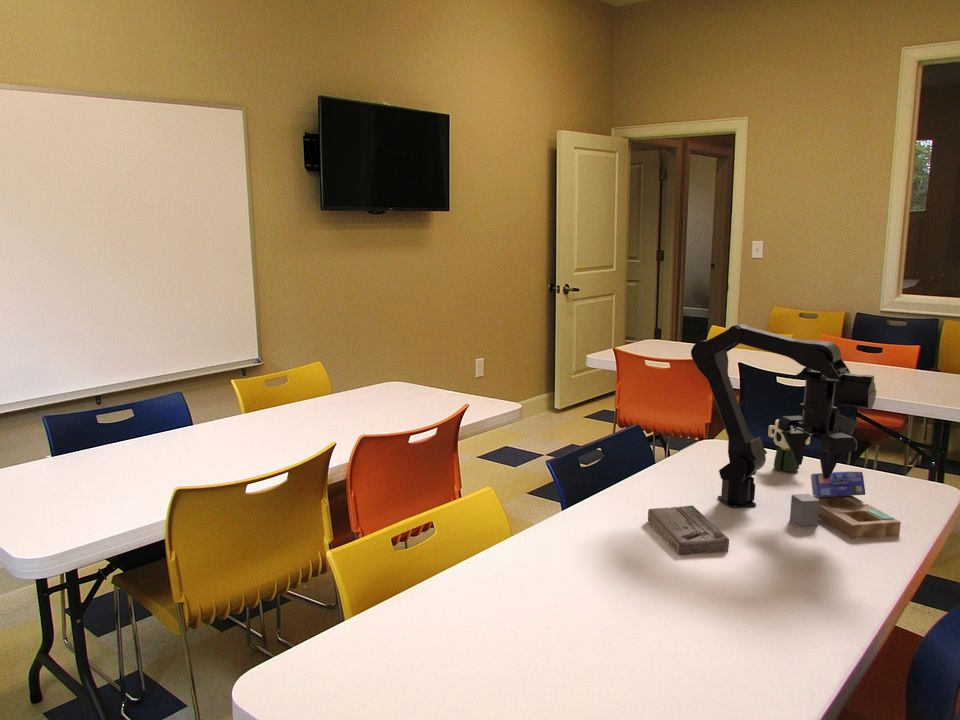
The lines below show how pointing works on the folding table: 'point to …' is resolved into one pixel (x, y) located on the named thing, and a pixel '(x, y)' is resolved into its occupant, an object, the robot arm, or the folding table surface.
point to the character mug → (783, 450)
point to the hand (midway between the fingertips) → (812, 471)
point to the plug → (804, 510)
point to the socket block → (856, 518)
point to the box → (687, 530)
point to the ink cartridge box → (838, 484)
